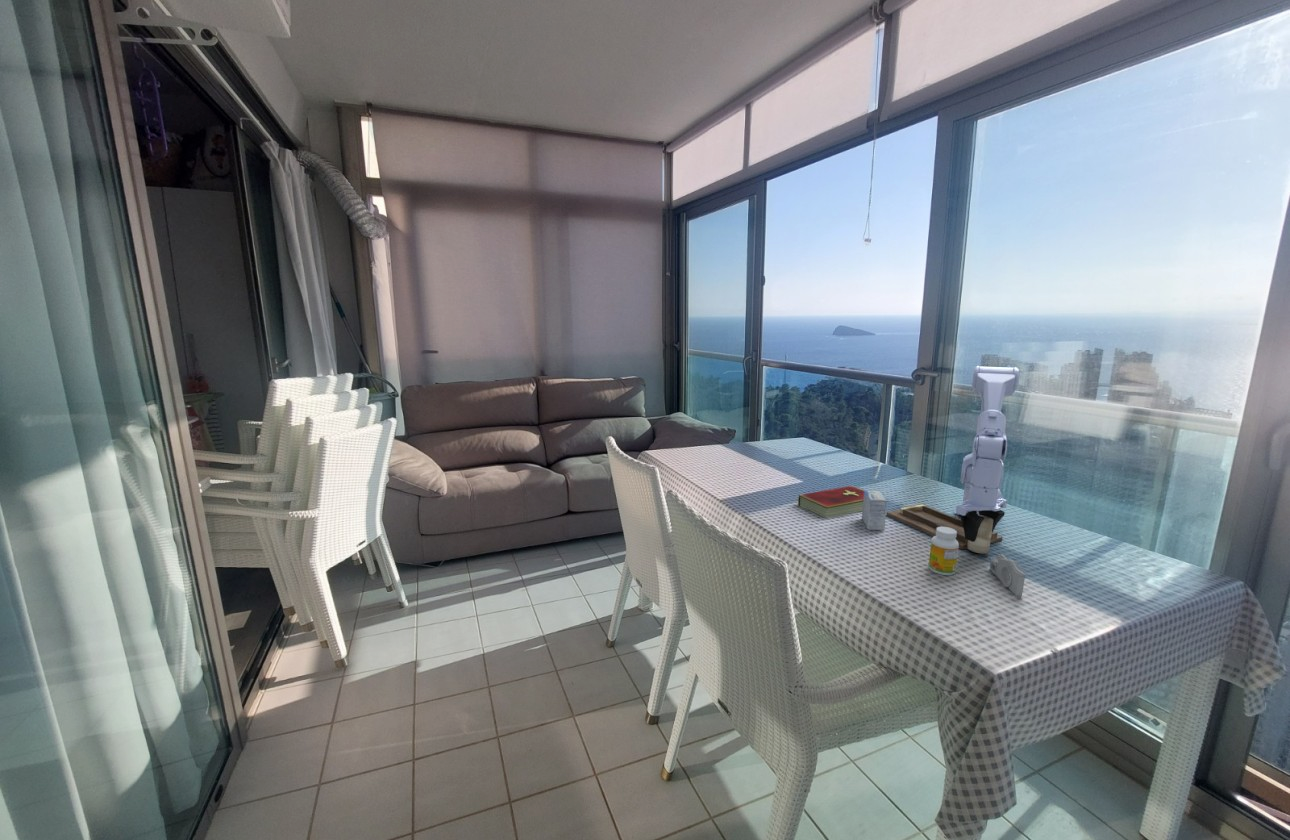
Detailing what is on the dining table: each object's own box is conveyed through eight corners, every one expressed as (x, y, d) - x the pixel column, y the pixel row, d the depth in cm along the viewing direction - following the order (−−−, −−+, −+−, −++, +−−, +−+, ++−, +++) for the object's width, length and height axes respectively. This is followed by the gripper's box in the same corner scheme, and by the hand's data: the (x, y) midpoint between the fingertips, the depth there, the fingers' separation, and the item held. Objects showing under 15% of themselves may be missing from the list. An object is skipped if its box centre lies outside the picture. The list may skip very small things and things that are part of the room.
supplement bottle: (923, 564, 120) (928, 525, 118) (947, 564, 120) (952, 525, 118) (935, 575, 115) (940, 534, 113) (960, 576, 115) (965, 535, 113)
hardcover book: (797, 506, 158) (798, 493, 157) (849, 496, 167) (850, 484, 166) (825, 520, 147) (826, 506, 147) (880, 509, 156) (881, 495, 155)
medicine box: (884, 531, 139) (887, 500, 137) (867, 529, 140) (869, 499, 138) (877, 520, 146) (880, 490, 145) (861, 518, 147) (863, 489, 146)
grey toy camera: (987, 569, 118) (991, 545, 117) (996, 569, 118) (999, 545, 116) (1015, 596, 106) (1019, 570, 105) (1024, 597, 106) (1028, 571, 105)
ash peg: (976, 544, 129) (980, 513, 127) (993, 551, 125) (997, 520, 123) (962, 546, 127) (966, 516, 126) (980, 554, 123) (984, 523, 122)
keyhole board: (922, 508, 155) (923, 500, 154) (1001, 540, 133) (1003, 531, 132) (886, 515, 150) (887, 507, 149) (962, 549, 128) (963, 539, 127)
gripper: (978, 494, 117) (971, 549, 120) (1022, 486, 122) (1014, 540, 125) (950, 484, 124) (944, 537, 126) (993, 478, 129) (986, 529, 131)
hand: (977, 538), depth 126 cm, fingers closed on ash peg, 4 cm apart
